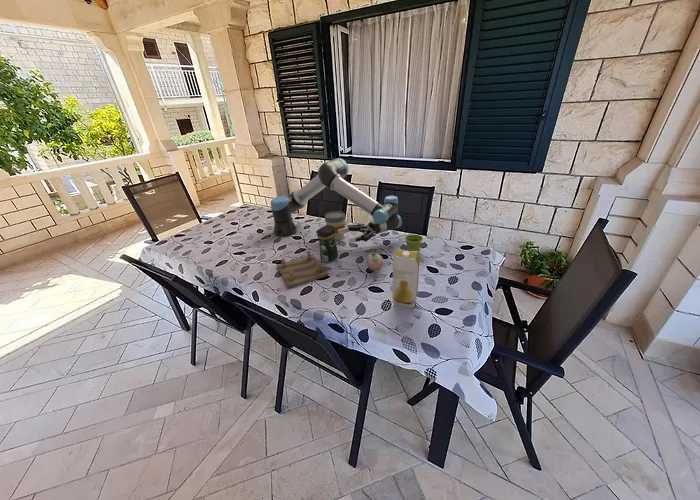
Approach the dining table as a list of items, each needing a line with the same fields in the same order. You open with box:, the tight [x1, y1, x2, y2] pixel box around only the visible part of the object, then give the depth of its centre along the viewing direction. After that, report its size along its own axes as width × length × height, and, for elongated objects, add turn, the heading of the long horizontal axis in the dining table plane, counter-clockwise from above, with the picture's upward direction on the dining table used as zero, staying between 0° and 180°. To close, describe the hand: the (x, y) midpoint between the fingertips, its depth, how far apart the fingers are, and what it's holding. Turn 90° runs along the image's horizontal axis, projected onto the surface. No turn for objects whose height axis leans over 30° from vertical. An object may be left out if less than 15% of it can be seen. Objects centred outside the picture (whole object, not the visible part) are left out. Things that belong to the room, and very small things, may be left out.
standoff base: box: [276, 250, 330, 289], centre depth 135 cm, size 22×20×6 cm
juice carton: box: [392, 249, 420, 309], centre depth 105 cm, size 9×8×24 cm
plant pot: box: [404, 233, 424, 254], centre depth 144 cm, size 9×9×9 cm
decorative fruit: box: [365, 251, 385, 272], centre depth 130 cm, size 9×8×10 cm
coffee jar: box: [316, 224, 339, 263], centre depth 142 cm, size 10×8×19 cm
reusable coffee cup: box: [324, 210, 346, 241], centre depth 166 cm, size 13×13×15 cm
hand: (343, 236), depth 145 cm, fingers open, 13 cm apart
